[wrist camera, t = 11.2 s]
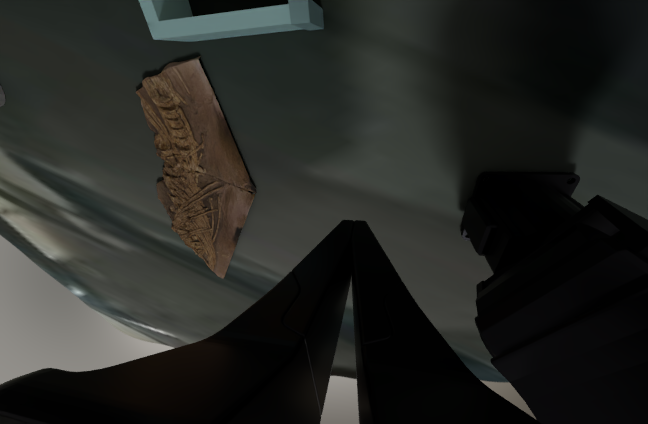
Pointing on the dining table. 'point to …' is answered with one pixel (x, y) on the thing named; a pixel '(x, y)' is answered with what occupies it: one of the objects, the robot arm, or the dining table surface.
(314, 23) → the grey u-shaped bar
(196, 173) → the brown carved slab
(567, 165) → the dining table surface
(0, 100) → the beverage cup
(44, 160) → the dining table surface
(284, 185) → the dining table surface
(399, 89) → the dining table surface
